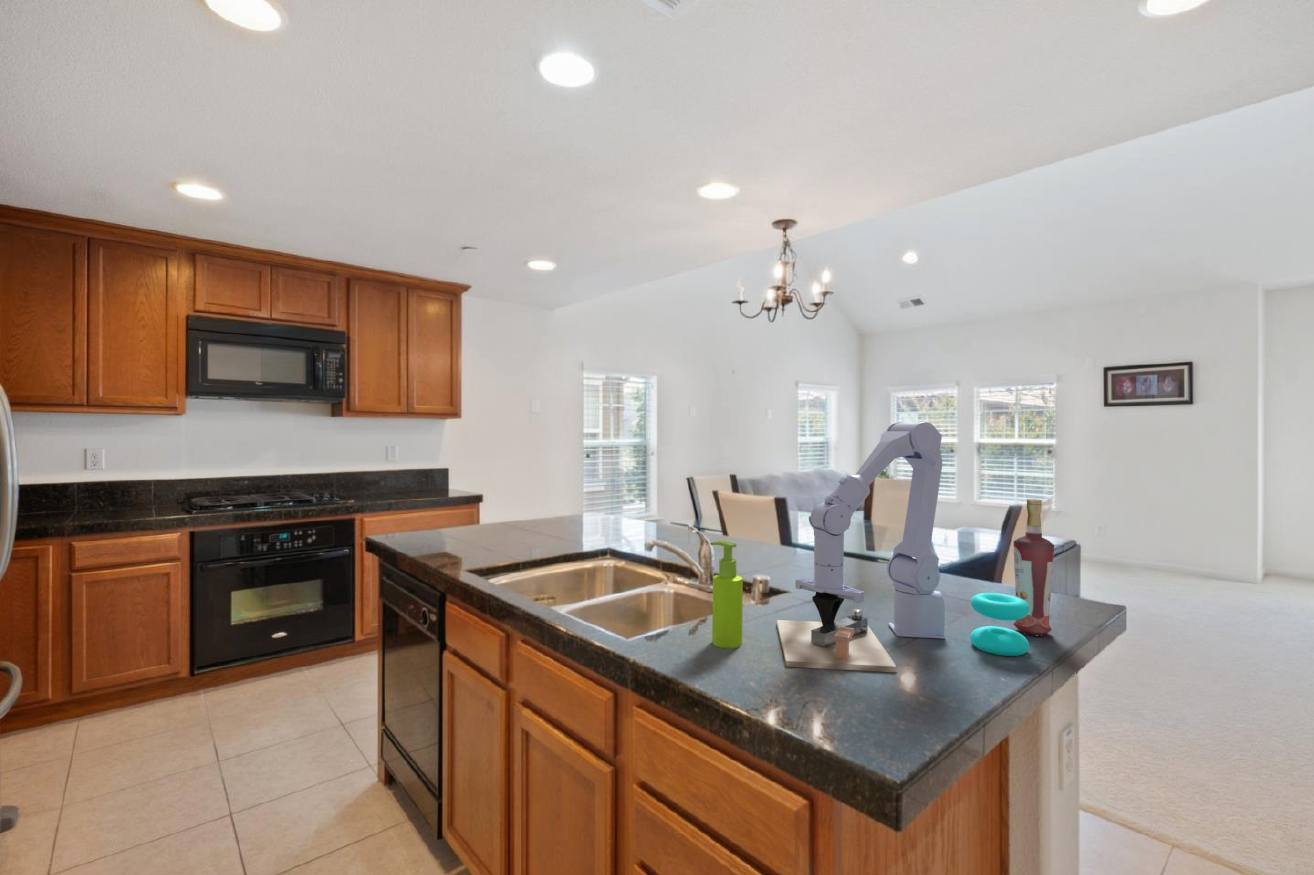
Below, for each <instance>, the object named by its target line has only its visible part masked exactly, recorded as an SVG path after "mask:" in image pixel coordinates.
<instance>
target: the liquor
mask: <svg viewBox="0 0 1314 875" xmlns="http://www.w3.org/2000/svg"><path fill="white" fill-rule="evenodd" d="M1042 502H1043V501H1042V499H1037V498H1036V499H1035V498H1034V499H1033V498H1028V499H1027V498H1026V510H1027V519H1026V528H1025V534H1024V536H1020V537H1018V538H1017V539H1015V540H1013V564H1014V565H1013V567H1014V569H1013V570H1014V571H1013V572H1014V584H1015V585H1014V587H1015V591H1014V592H1015V597H1018V598H1021V599H1023V600H1024V601H1025V602H1027V604H1028V605H1029V608H1030V611H1029V613H1028V615H1027V616H1026V617H1024V618H1022V619H1019V620H1014V622H1013V626H1014V627H1015V628H1016V630H1018V632H1019V633H1021V632H1022V633H1021V634H1023V633H1025V634H1024V635H1026V634H1028V635H1027V636H1031V635H1038V636H1037V637H1042V636H1041V635H1044V636H1046V635H1047V634H1048V633H1050V632H1052V630H1053V629H1052V627H1051V626H1050V615H1051V614H1050V611H1051V610H1050V609H1051V595H1052V594H1051V593H1052V582H1053V581H1052V580H1053V571H1054V554H1055V544H1054V543H1052V542H1051V541H1050V540H1048V539H1046V538H1045V537H1043V532H1042V521H1041V512H1042V505H1043V504H1042Z"/></svg>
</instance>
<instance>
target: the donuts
mask: <svg viewBox="0 0 1314 875" xmlns="http://www.w3.org/2000/svg"><path fill="white" fill-rule="evenodd" d="M970 605H971V607H972V609H973V610H974V611H975V612H977V614H979V615H981V616H984V617H986V618H989V619H993V620H998V621H1008V622H1009V621H1016V620H1019V619H1022V618H1024V617H1026V616H1027V615H1028V613H1029V611H1030V608H1029V605H1028V604H1027V602H1025V601H1024V600H1023V599H1021V598H1018V597H1016V595H1011V594H1005V593H1000V592H981V593H980V592H979V593H976V594H975V595H974V596H972V598H971V600H970ZM969 639H970V642H971V643H972V645H973V646H974V647H976V648H977V649H979V651H980V650H981V651H982V652H985V653H988V654H993V655H998V656H1004V657H1017V656H1022V655H1025V654H1026V653H1027V652H1028V651H1029V649H1030V644H1029V641H1028V639H1027V638H1026V637H1025V636H1024V634H1023V633H1021V632H1019V631H1016V630H1013V629H1011V628H1007V627H1003V626H995V625H993V626H992V625H989V626H987V625H985V626H981V627H976V629H974V630H973V631H972V632H971V633H970V637H969Z"/></svg>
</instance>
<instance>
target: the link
mask: <svg viewBox="0 0 1314 875" xmlns="http://www.w3.org/2000/svg"><path fill="white" fill-rule="evenodd" d="M863 611H864V610H862V609H858V608H853V609H852V614H850V615H847V617H845V618H844V617H843V618H841V619H839V620H835V621H834V622H833V623H830V624H827V625H824V626H822V627H819V628H816V629H813V630H811V643H813V644H816V645H819V646H822V647H826V646H829V645H831V644H834V643H836V641H834V635H835V634H836V632H837V631H838V629H839V628H840V627H841V626H842V627H849V628H854V635H857V634H859V633H865V632H867V631H868V626H869V622H868V621H869V620H868V619H869V618H868V617H867V616H865V615H863ZM854 635H853V636H854Z"/></svg>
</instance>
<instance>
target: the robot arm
mask: <svg viewBox="0 0 1314 875" xmlns="http://www.w3.org/2000/svg"><path fill="white" fill-rule="evenodd" d="M942 437H943V435H942V433H940V431H939V430H938V429H937V428H936V426H934V424H932V423H931V422H928V421H921V422H900V421H899V422H893V423H890V425H889V426H888V427H887V428H886V431H885V430H884V431H883V433H882V434H881V436H880V439H879V440H880V441H878V444H877V445H876V447H874V448H873V450H872V452H871V453H870V454H869V455H868V457H867V458H866V459H865V461H864V463H863V464H862V465H861V466H860V467H859V469H858V470H857V472H856V473H855V474H848V475H845V477H844V476H843V477H840V479H839V480H838V483H839V484H838V485H837V486H836V488H835V489H834V490H833V491H832V492H831V493H830V495H827V496H826V497H824V502H821V503H818V504H817V505H815V506H814V507H813V508H812V511H811V513H810V515H809V516H808V522H809V525H810V526H811V527H812V529H813V536H814V539H813V540H814V541H813V542H814V546H813V550H814V551H813V552H814V553H813V560H814V561H813V567H814V568H813V579H808V578H802V577H800V578H797V579H796V578H795V589H797V590H804V591H808V592H809V591H810V592H813V593H815V594H814V595H813V596H812V602H813V603H814V606H815V607H816V610H817V612H818V614H819V616H820V617H819V618H820V620H821V621H820V622H822V625H823V626H824V625H827V624H830V623H833V622H835V621H836V616H837V614H838V612H839V611H840V610H839V609H840V608H841V606H842V605H843V603H844V601H845V600H849V601H852V602H854V603H857V604H860V603H863V602H865V591H863V590H859V589H855V588H853V587H850V586H847V585H845V584H844V568H845V567H844V560H845V559H844V557H845V556H844V554H845V552H844V550H845V549H844V547H845V538H844V537H845V532H846V531H847V530H849V528H850V526H851V522H852V516H853V514H854V513H855V512H856V511H857V509H858V508H859V507H860V506H861V505H862V503H863V502H864V501H865V500H866V499H867V497H868V496H869V495H870V492H871V491H870V489H871V488H870V485H871V484H872V483H873V482H874V481H875V479H877V477H878V476H879V475H880V474H881V473H882V472H883V471H884V470H885V469H886V468H887V467H888V466H889V465H891V464H892V462H893V461H894V460H895V459H898V458H903V459H905V460H906V462H907V464H909V465H910V466H911V468H912V474H911V482H910V488H909V494H908V501H907V502H908V503H907V508H906V514H905V520H904V528H903V529H904V530H903V534H902V540H901V542H900V543H898V544H897V545H896V546H894V547H893V552H892V556H891V558H890V559H889V561H888V562H887V567H886V570H887V571H886V573H887V576H888V577H889V578H890V580H891V581H892V586H893V587H894V593H893V594H894V600H893V602H894V604H893V608H894V609H893V611H894V612H893V613H894V614H893V622H888V624H887V625H888V626H889V627H890V629H891V630H892V631H893V632H894V633H895V635H896V637H901V638H927V639H946V635H945V623H946V622H945V621H946V620H945V619H946V618H945V612H946V611H945V610H946V607H945V599H944V596H943V594H942V592H941V591H939V590H936V588H938V585H939V583H940V580H941V573H940V569H939V560H940V558H939V556H938V555H937V553H936V552H935V551H934V549H933V548H932V537H933V532H934V526H935V518H936V511H937V510H936V509H937V504H938V497H939V492H940V484H941V483H940V482H941V477H942V469H943V458H942V453H941V443H942Z"/></svg>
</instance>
